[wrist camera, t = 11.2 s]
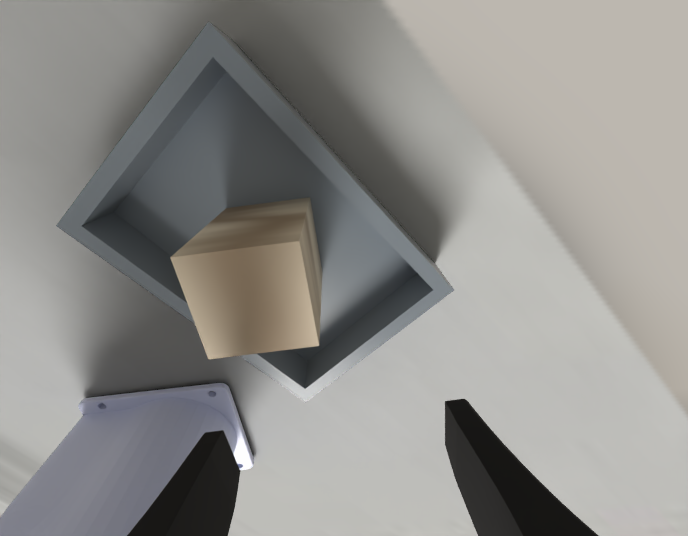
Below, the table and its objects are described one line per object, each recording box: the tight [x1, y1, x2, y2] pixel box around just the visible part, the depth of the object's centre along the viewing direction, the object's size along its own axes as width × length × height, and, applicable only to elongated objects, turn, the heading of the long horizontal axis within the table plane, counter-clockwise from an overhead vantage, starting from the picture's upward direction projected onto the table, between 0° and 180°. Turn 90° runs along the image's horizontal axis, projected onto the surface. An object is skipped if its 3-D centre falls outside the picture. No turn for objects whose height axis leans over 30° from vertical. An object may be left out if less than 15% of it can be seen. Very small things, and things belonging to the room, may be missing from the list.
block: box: [170, 197, 322, 359], centre depth 14 cm, size 4×4×6 cm
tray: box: [56, 21, 454, 403], centre depth 16 cm, size 10×14×3 cm
